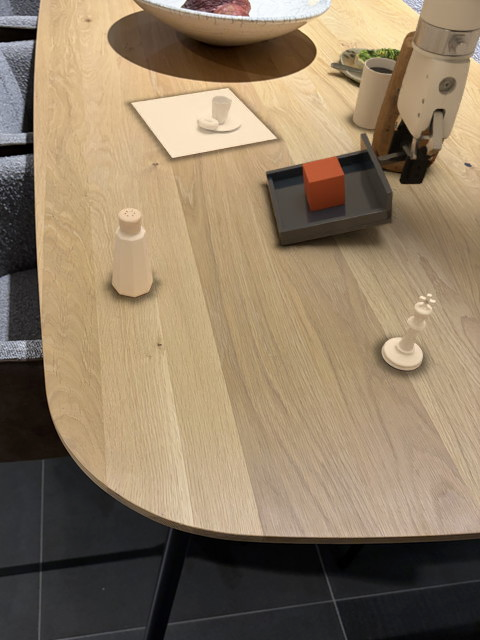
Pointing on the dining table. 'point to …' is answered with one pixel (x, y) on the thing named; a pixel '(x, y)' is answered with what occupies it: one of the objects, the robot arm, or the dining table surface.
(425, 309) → the chess piece
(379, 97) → the white cup
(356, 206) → the tipping dish
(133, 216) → the pepper shaker
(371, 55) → the salad plate
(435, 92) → the robot arm
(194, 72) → the dining table surface
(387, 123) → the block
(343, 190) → the terracotta block
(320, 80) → the dining table surface
